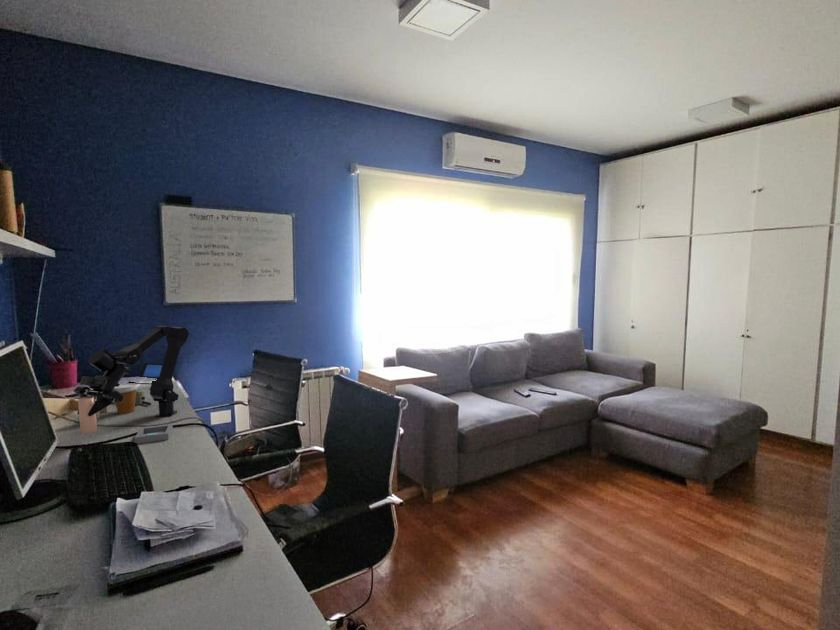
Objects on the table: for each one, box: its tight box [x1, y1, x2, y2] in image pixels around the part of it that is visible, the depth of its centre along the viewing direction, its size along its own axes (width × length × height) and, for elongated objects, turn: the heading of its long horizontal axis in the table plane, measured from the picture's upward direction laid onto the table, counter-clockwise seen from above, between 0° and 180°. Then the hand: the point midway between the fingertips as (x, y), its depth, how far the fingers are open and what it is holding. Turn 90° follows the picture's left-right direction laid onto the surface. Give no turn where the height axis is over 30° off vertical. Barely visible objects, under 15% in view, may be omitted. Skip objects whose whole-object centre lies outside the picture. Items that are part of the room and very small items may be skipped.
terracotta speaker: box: [77, 396, 98, 435], centre depth 154 cm, size 5×5×12 cm
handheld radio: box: [135, 388, 152, 406], centre depth 204 cm, size 7×3×25 cm
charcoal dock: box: [134, 423, 174, 444], centre depth 160 cm, size 11×11×3 cm
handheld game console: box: [138, 362, 163, 380], centre depth 246 cm, size 16×13×9 cm
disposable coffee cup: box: [114, 382, 138, 415], centre depth 189 cm, size 10×10×12 cm
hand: (83, 415), depth 153 cm, fingers closed on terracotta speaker, 5 cm apart
